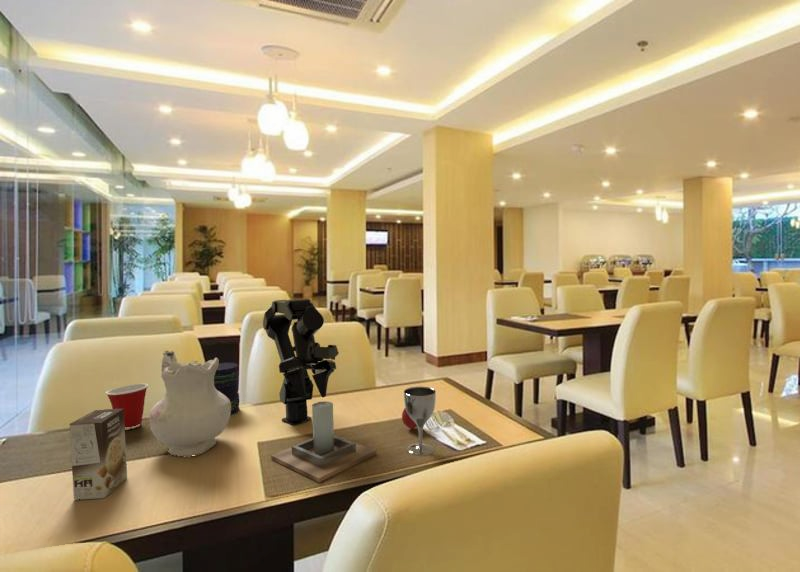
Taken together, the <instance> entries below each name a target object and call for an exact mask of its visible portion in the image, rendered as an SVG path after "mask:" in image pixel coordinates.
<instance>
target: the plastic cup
mask: <svg viewBox="0 0 800 572" xmlns="http://www.w3.org/2000/svg"><path fill="white" fill-rule="evenodd" d="M148 387H149V384H148V383H136V384H129V385H124V386H123V385H122V386H119V387H115V388H112V389H109V390H106V391H105V395H106V396H107V397H108V399H109V402H110V404H111V409H124V426H125V427H132V426H136V425H138V424H140V423H141V422H143V421H142V420H143V414H144V408H145V399H146V393H147V388H148ZM141 424H142V423H141Z"/></svg>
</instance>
